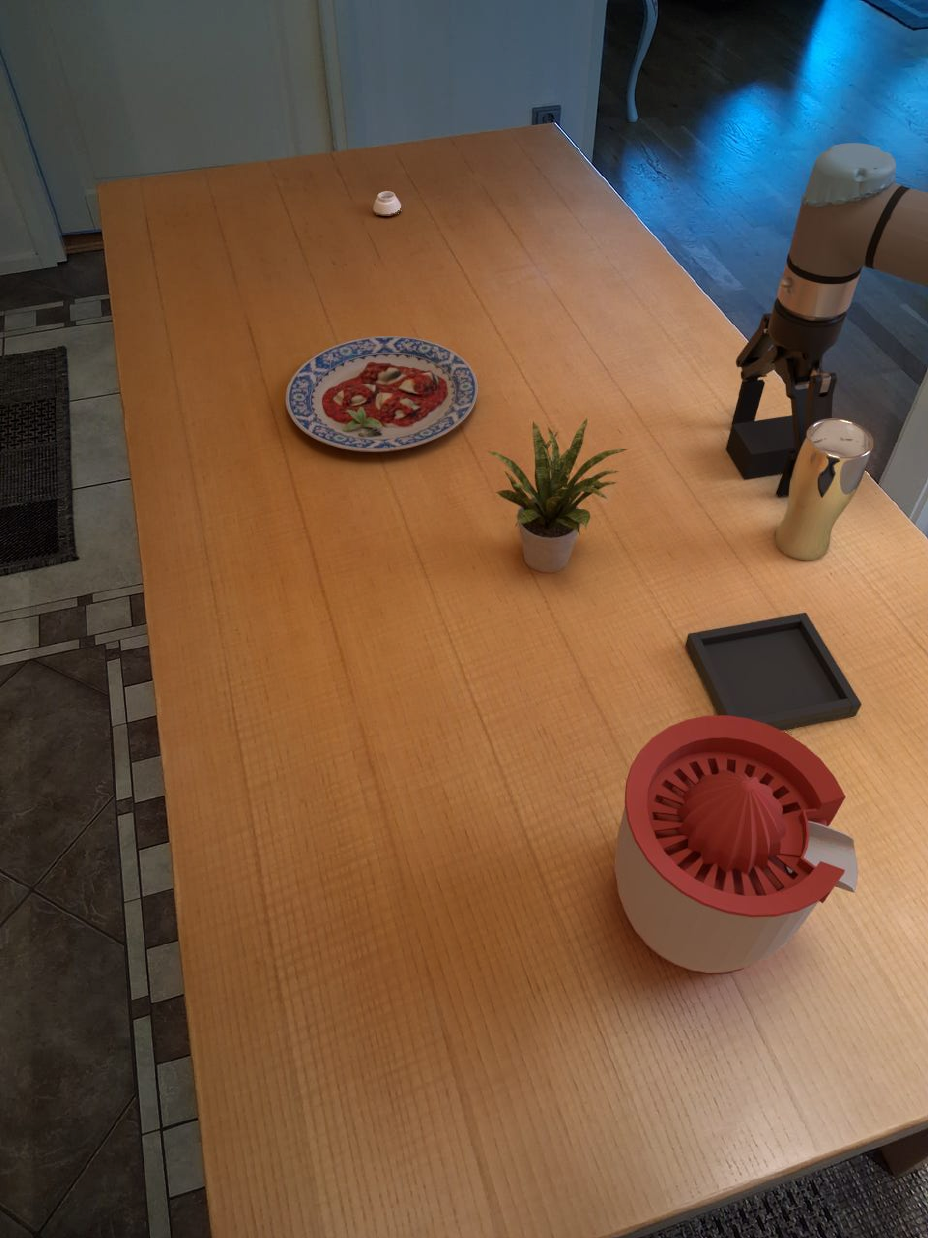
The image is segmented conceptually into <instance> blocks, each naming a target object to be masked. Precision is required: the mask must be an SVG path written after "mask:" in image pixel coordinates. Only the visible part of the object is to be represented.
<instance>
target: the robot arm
mask: <svg viewBox="0 0 928 1238" xmlns="http://www.w3.org/2000/svg"><path fill="white" fill-rule="evenodd" d="M896 170H897V162H896V159H895V158H894V156H893V155H892V154H891V153H890V152H887V151H883V150H882V149H881V148H880V147H878V146H875V145H872V144H866V143H857V142H856V143H855V142H849V143H840V144H836V145H833V146H830V147H828V148H826V149H825V150H824V151H823V152H821V153H820V154H818V156H817V158H816V159H815V161H814V163H813V167H812V169H811V173H810V175H809V178H808V181H807V185H806V187H805V191H804V192H803V194H802V195H801V199H800V206H799V211H798V214H797V218H796V222H795V227H794V231H793V235H792V237H791V243H790V246H789V250H788V253H787V257H786V262H785V266H784V269H783V273H782V276H781V279H780V280H779V286H778V290H777V298H776V299H775V301H774V303H773V307H772V311H771V312H769V313H763V314H762V317H761V319H760V322H759V325H758V328H757V329H756V331H755V332H754V334H752V336H751V338H750V339H749V340H748V342H747V344H746V345H745V346H744V348H742V350H741V352H740V353H739V354H738V356H737V357H736V359H735V365H736V367H737V368H741V370H740V378H741V384H740V388H739V391H738V396H737V401H736V404H735V409H734V413H733V415H732V420H731V426H732V424H737V423H744V422H750V421H756V416H757V414H758V409H759V405H760V402H761V398H762V395H763V393H764V388H765V384H766V382H765V381H764V379H761V378H766V377H768V374H769V373H771V372H773V371H775V372H776V374H777V375H778V376H779V377H780V378H781V380H782V382H783V384H784V386H785V387H784V388H785V395H786V397H787V398H788V399H790V408H791V415H792V421H793V433H794V446H795V450H793V451H790V452H789V455H788V458H787V461H786V464H785V467H784V470H783V473H782V474H781V476H780V479H779V482H778V485H777V488H776V490H775V491H776V492H775V494H776V497H778V498H784V497H788V495H789V486H790V479H791V473H792V469H793V466H794V462H795V459H796V457H797V454H798V451H799V449H800V447H801V444H802V442H803V440H804V438H805V436H806V433H807V430H808V428H809V427H810V426H811V425H812V424H813V423H814V422H816V421H819V420H822V419H829V418H833V400H834V393H835V388H836V385H837V381H838V376H837V373H836V372H834V371H833V372H826V371H825V370H824V369H823V358H824V355H825V353H826V352H828V351H829V349H831V348H832V347H834V345H835V344H836V343H837V341H838V339H839V337H840V333H841V330H842V328H843V325H844V322H845V319H846V316H847V310H848V309H849V308H850V306H851V303H852V300H853V297H854V294H855V291H856V288H857V285H858V282H859V279H860V276H861V272H862V269H863V267H866V268H869V269H872V270H876V271H880V272H882V273H885V274H888V275H891V276H894V277H897V278H901V279H903V280H906V281H909V282H912V283H914V284H918V285H920V286H924V287H927V288H928V192H926V191H922V190H918V189H914V188H911V187H909V186H905V185H903V184H899V183H896V182H895V181H896V174H895V173H896ZM772 345H773V346H772ZM804 385H805V386H806V388H801V389H800V388H799V389H797V388H796V387H798V386H804Z"/></svg>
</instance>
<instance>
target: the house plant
mask: <svg viewBox="0 0 928 1238" xmlns="http://www.w3.org/2000/svg"><path fill="white" fill-rule="evenodd" d="M587 425H588V417H587V418H585V419H584V421H583V422H582V423H581V424H580V426H579V427H578V429H577V430H576V433H575V435H574V437H573V440H572V442H571V444H570V447H569V448H568V449H566V450H565V451H564V452H563V453H562V455H561V454H560V446H559V444H558V442H557V439H556V437H557V435H558V433H559V429H558V430H557V431H556V433H554V432H553V430H551V428H550V427H549V426H547V431H548V434H549V441H548V442H546V440H545V439H544V437H543V435H542V433H541V430H540V428H539V426H538V424H536V423H535V420H533V421H532V440H533V443H532V444H533V450H534V483H535V488H536V489H535V488H534V486H533V485H532V483H531V482H530V480H529V478H528V477H527V476H526V474H525V473H524V471H523V470H522V469H521V467H520V466H519V465H518V464H517V463H516V461H514V460H513V459H511V458H510V457H509V458H508V457H506V456H504V455H503V454H501V453H499V452H497V451H490V450H487V452H488V453H489V454H491V455H492V456H494V457H496V458H497V459H498V460H499V461H500V462H502V463H503V464H504V465H505V466H506V467H507V468H508V469H509V470H510V471H511V472H512V473H513V474H514V475H515V477H517V479H518V481H519V482H520V483H518V482H517V481H516V480H515V478H513V476H512V475H511V474H509V472H507V471H505V470H504V473H505V475H506V477H507V478H508V480H509V483H510V485H511V487H512V489H513V490H512V489H502V490H498V491H496V492H495V494H498V495H499V496H500V498H503V499H504V500H506V501H508V502H511V503H513V504H515V505H517V506H519V508H518V509H517V514H516V518H517V519H516V520H517V521H516V523H515V527H516V526H518V530H519V536H520V543H521V546H522V547H521V548H522V553H523V559H524V561H525V563H526V565H527V566H528V567H529V568H530V569H532V570H535V571H538V572H540V573H546V574H548V573H556V572H559V571H561V570H563V569H564V568H565V567H566V566H567V565H568V563H569V561H570V559H571V556H572V553H573V549H574V547H575V543H576V540H577V537H578V534H579V535H581V532H580V528H581V526H583V527H584V528H585V529H584V530H587V526H588V525H589V522H590V520H591V513H590V512H589V510H587V509H584V508H579V507H578V506H579V505H580V504H581V503H582V502H583V501H584V500H586V498H588V497H589V496H591V495H592V494H595V496H598V497H600V498H603V499H606V500H607V501H609V499H608V497H607V496H606V495H605V494H604V493H603V492H602V491H601V489H603V488H604V487H607V486H610V485H615V484H617V483H619V482H618V481H600V479H601V478H603V477H605V476H607V475H610V474H616V473H619V472H621V471H620V470H613V469H612V470H604V471H601V472H598V473H597V474H594V475H593V476H591V477H587V478H583V479H582V480H580V479H581V478H582V477H583V476H584V475H585V474H586V473H587V472H588V471H589V470H590V469H592V468H593V467H594V466H596V465H597V464H599V463H601V462H603V461H604V460H605V459H607V458H609V457H611V456H612V455H615V454H619V453H623V452H625V451H627V450H629V448H615V449H609V450H605V451H602V452H600V453H598V454H596V455H594V456H592V457H591V458H589V459H588V460H586V461H585V462H584V463H582V465H581V466H580V467H579V469H578V470H577V471H576V473H575V474H574V475H573V476H572V477H571V473H572V471H573V469H574V466H575V464H576V462H577V459H578V456H579V454H580V452H581V449H582V446H583V444H584V436H585V431H586V428H587ZM550 446H551V455H550V452H549V448H550ZM526 493H527V494H528V495H527V494H526ZM529 495H530V496H531V498H530V497H529Z"/></svg>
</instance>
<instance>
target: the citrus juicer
mask: <svg viewBox="0 0 928 1238" xmlns="http://www.w3.org/2000/svg"><path fill="white" fill-rule="evenodd" d="M630 765H631V766H630V768H629V770H628V771H629V772H628V774H627V778H626V781H625V790H624V807H623V811H622V815H621V819H620V824H619V828H618V832H617V836H616V844H615V855H614V870H615V878H616V886H617V893H618V896H619V899H620V904H621V906H622V909H623V912H624V916H625V918H626V920H627V921H628V923H629V925H630V926H631V928H632V929H633V932H634V933H635V934H636V936H637V937H638V938H639V939H640V941H642V943H643V944H644V945H645V947H646V948H648V949H649V950H650V951H651V952H652V953H653V954H655V955H656V956H657V957H658V958H660V959H661V960H663V961H665V962H667V963H668V964H670V965H672V966H673V967H676V968H679V969H682V970H683V971H684V970H685V971H687V972H690V973H697V974H703V975H727V974H730V973H735V972H740V971H742V970H744V969H746V968H750V967H753V966H754V965H756V964H758V963H760V962H762V961H764V960H766V959H768V958H769V957H771V956H772V955H774V954H776V953H777V952H778V951H779V950H781V948H783V947H784V946H785V945H786V944H787V943H789V942H790V941H791V939H792V938H793V937H794V936H795V935H796V934H797V933H798V931H799V930H800V929H801V928H802V926H803V925H804V923H805V922H806V920H807V919H808V917H810V915H811V913H812V912H813V910H814V909H815V908H816V906H817V905H818V903H821V904H824V902H826V900H827V898H828V896H829V895H830V894H831V892H832V891H833V890H834V888H835V887H836V888H839V889H841V890H843V891H847V892H850V893H853V894H855V892H856V889H857V885H858V879H859V878H858V877H859V876H858V875H859V869H858V867H859V866H858V858H857V853H856V847H855V841H854V838H853V836H851V835H849V834H848V833H846V832H844V831H840V830H838V829H836V828H833V827H830V825H831V823H832V822H833V820H834V819H835V817H836V816H837V814H838V812H839V810H840V808H841V806H842V804H843V802H844V800H845V798H846V795H845V793H844V791H843V789H842V787H841V785H840V784H839V782H838V780H837V778H836V776H835V775H834V773H832V771H831V770H830V769H829V768H828V766H827V765H826V764H825V763H824V762H823V760H822V759H821V758H820V757H819V756H818V755H817V754H816V753H814V752H813V751H812V750H811V749H810V748H809V747H808V746H806V744H804V743H803V742H801V741H799V740H798V739H797V738H795V737H794V736H792V735H790V734H789V733H787V732H785V731H784V730H779V729H776V728H774V727H772V726H770V725H768V724H765V723H761V722H758V721H754V720H751V719H748V718H742V717H734V716H727V715H702V716H697V717H693V718H692V717H691V718H688V719H684V720H682V721H679V722H677V723H675V724H672V725H670V726H667V727H666V728H665V729H663V730H662V731H661V732H659V733H657V734H655V735H654V736H653V737H652V738H651V739H650V740H648V741H647V743H646V744H645V745H644V746H643V747H642V748H641V749H640V750H639V751H638V753H637V755H636V757H635V758H634V760H633V762H632V764H630Z"/></svg>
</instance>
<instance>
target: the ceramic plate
mask: <svg viewBox="0 0 928 1238" xmlns="http://www.w3.org/2000/svg"><path fill="white" fill-rule="evenodd" d="M478 384H479V383H478V379H477V376H476V374H475V372H474V370H473V367H471V365H470V364H469V363H468V361H466V360H465V359H464V358H463V357H462V356H460V355H459V354H458V353H457V352H455V351H454V350H451V349H450V348H448V347H446V346H444V345H441V344H439V343H436V342H434V341H430V340H426V339H422V338H417V337H412V336H411V337H410V336H401V335H377V336H371V337H370V336H369V337H363V338H357V339H353V340H348V341H346V342H343V343H339V344H335V345H334V346H330V347H329V348H327V349H324V350H323V351H321V352H319V353H318V354H316V355H314V356H313V357H311V358H310V359H308V360H307V361H305V362H304V363H303V364H302V365H301V366H300V367H299V368H298V369H297V371H296V372H295V373H293V375H292V377H291V379H290V380H289V382H288V385H287V388H286V391H285V392H286V393H285V405H286V409H287V412H288V414H289V416H290V418H291V420H292V421H293V423H295V425H296V426H297V427H298V428H299V429H300V430H301V431H302V432H303V433H305V434H306V435H307V436H309V437H311V438H312V439H314V440H316V441H318V442H321V443H323V444H325V445H327V446H332V447H335V448H339V449H343V450H349V451H354V452H365V453H367V452H368V453H371V452H372V453H385V452H393V451H399V450H405V449H410V448H415V447H417V446H420V445H424V444H427V443H429V442H433V441H434V440H436V439H438V438H440V437H443V436H444V435H446V434H448V433H449V432H451V431H452V430H454V429H455V428H457V427H458V426H460V424H461V423H462V422H463V421H464V420H465V419H466V418H467V417H468V416H469V414H470V413H471V411H472V410H473V408H474V406H475V404H476V401H477V398H478V391H479V385H478Z"/></svg>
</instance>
